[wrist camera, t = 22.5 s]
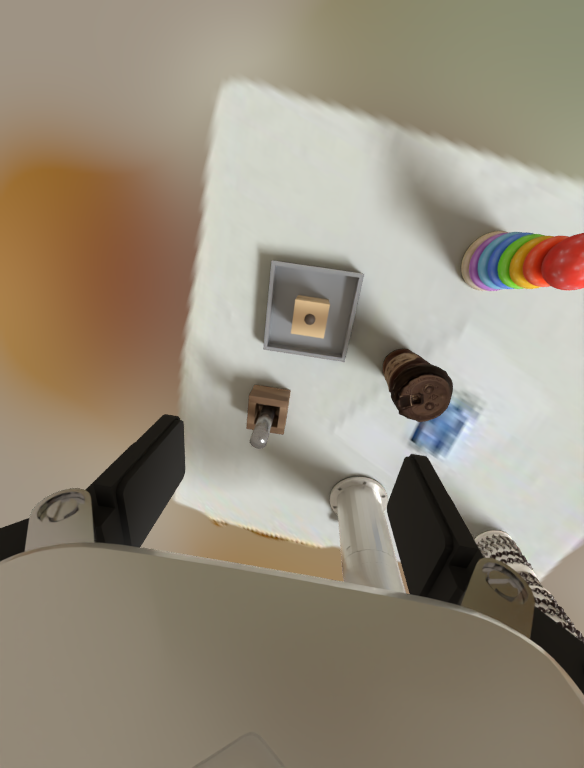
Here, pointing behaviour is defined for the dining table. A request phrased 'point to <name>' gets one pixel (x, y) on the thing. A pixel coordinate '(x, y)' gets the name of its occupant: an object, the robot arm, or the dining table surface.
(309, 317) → the oak block
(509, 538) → the decorative candle
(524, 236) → the stacking toy
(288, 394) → the go block
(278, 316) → the tray
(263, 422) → the cylinder
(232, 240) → the dining table surface
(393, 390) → the coffee cup
